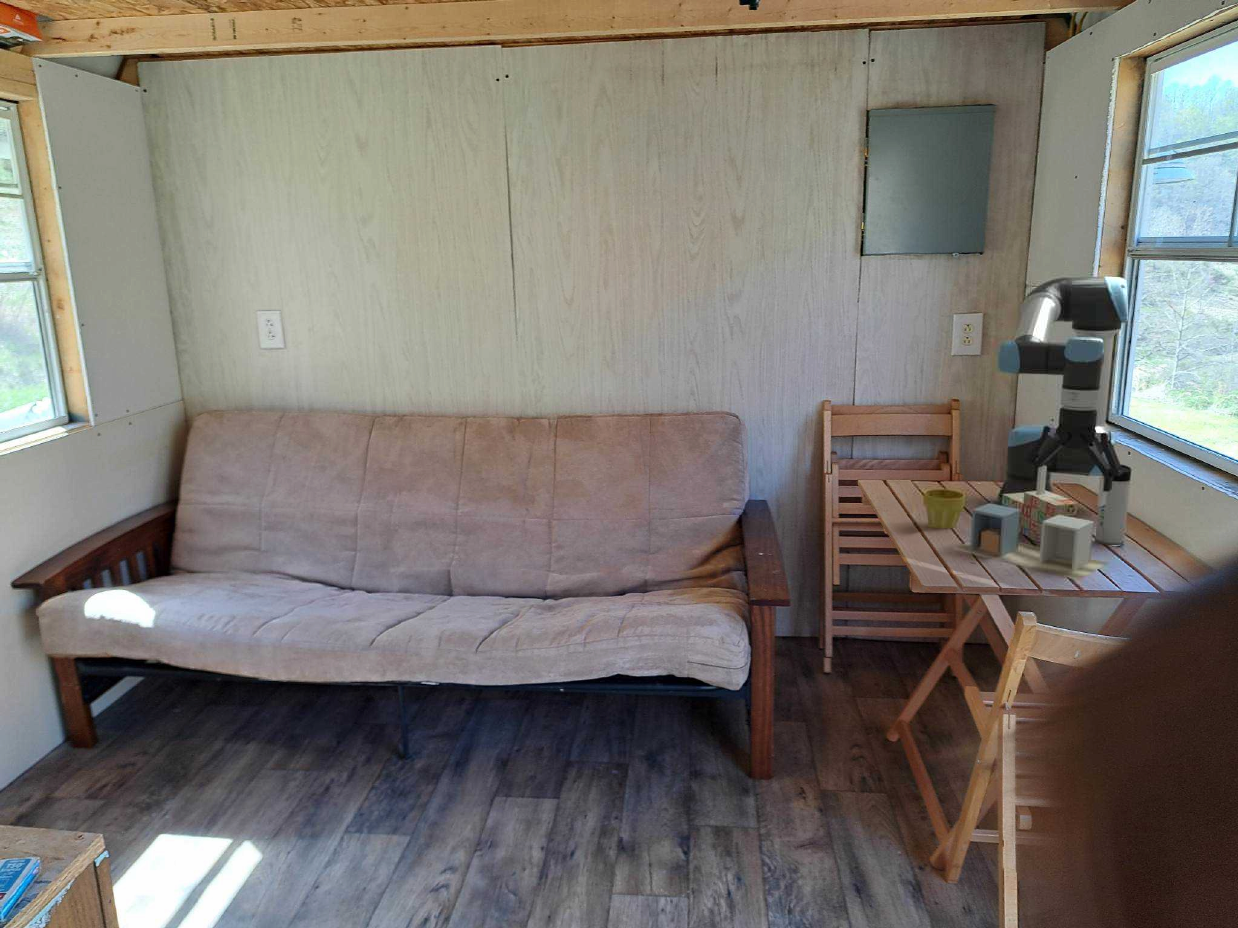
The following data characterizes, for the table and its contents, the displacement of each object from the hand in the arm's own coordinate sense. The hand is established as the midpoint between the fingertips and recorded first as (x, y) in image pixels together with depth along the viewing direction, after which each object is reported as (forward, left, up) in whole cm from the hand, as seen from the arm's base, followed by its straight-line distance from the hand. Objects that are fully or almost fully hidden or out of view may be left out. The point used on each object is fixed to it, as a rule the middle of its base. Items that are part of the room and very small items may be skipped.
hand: (1070, 499), depth 201 cm
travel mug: (-25, 0, -17) cm, 30 cm away
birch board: (+1, -8, -16) cm, 18 cm away
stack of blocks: (-17, -15, -17) cm, 28 cm away
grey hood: (0, 0, -15) cm, 15 cm away
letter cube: (+2, -16, -15) cm, 22 cm away
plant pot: (-7, -35, -17) cm, 40 cm away
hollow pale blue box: (+2, -16, -15) cm, 22 cm away
